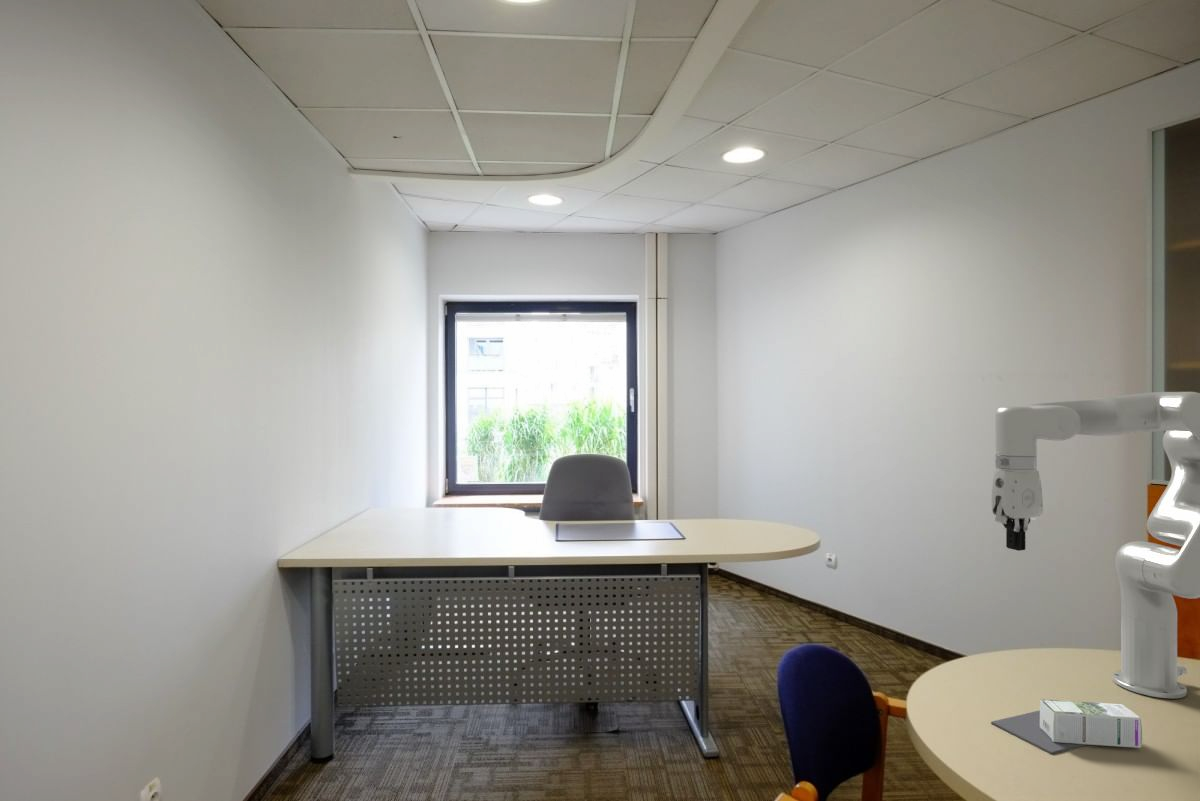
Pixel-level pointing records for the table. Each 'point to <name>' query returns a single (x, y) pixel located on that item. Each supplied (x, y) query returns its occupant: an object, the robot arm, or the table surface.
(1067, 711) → the syrup box
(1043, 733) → the mat
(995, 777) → the table surface
